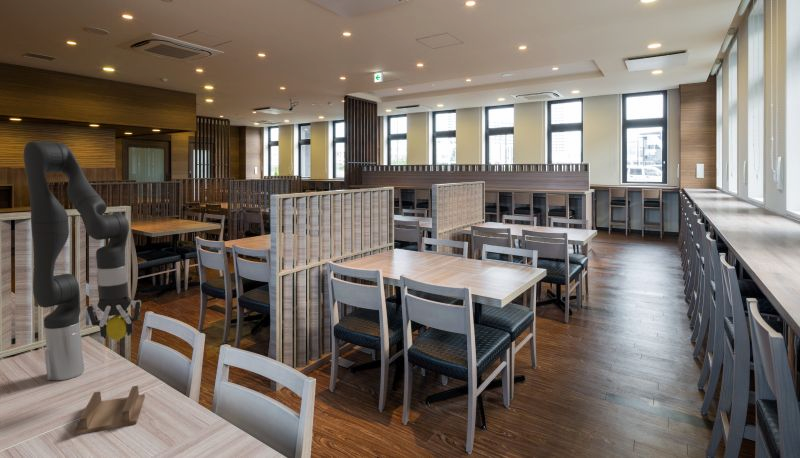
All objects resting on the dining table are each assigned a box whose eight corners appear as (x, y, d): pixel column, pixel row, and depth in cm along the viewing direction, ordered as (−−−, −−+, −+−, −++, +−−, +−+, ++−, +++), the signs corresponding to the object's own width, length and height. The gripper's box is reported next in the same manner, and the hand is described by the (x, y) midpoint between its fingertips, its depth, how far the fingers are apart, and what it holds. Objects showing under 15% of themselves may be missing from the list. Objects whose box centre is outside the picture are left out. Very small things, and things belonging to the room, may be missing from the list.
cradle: (74, 435, 117) (72, 420, 116) (89, 406, 131) (88, 393, 130) (136, 423, 122) (135, 409, 121) (144, 397, 136) (143, 384, 135)
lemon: (132, 337, 140) (130, 312, 139) (120, 344, 135) (117, 318, 134) (115, 337, 141) (113, 312, 140) (102, 344, 135) (100, 318, 134)
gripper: (142, 276, 141) (146, 329, 144) (87, 280, 136) (92, 335, 138) (138, 282, 134) (142, 337, 137) (80, 287, 129) (86, 344, 131)
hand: (117, 336), depth 138 cm, fingers closed on lemon, 5 cm apart
